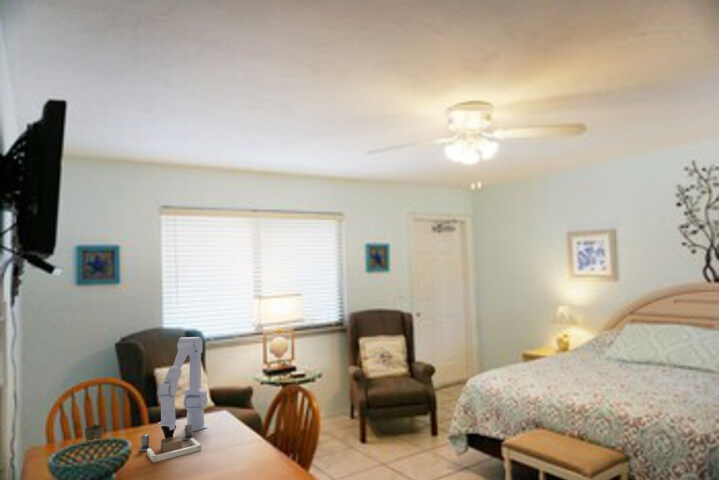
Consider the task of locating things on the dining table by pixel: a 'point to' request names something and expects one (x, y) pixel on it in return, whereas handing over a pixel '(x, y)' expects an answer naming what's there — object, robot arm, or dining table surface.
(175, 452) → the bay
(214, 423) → the dining table surface
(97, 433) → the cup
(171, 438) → the walnut block
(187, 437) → the post
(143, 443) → the post
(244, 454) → the dining table surface
